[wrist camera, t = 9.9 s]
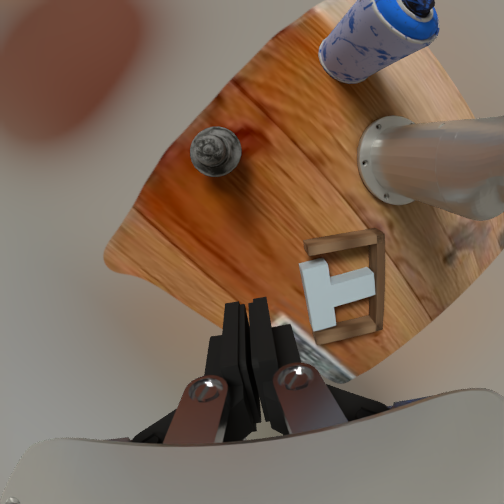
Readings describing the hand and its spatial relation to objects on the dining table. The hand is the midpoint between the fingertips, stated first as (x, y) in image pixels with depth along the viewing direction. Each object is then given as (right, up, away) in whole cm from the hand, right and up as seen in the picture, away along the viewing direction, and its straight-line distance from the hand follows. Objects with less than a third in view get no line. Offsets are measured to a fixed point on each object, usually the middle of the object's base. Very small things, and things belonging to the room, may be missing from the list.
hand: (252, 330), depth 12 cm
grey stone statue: (-4, +16, +23) cm, 29 cm away
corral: (+13, -1, +30) cm, 32 cm away
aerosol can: (+13, +29, +20) cm, 37 cm away
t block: (+12, -2, +30) cm, 32 cm away
